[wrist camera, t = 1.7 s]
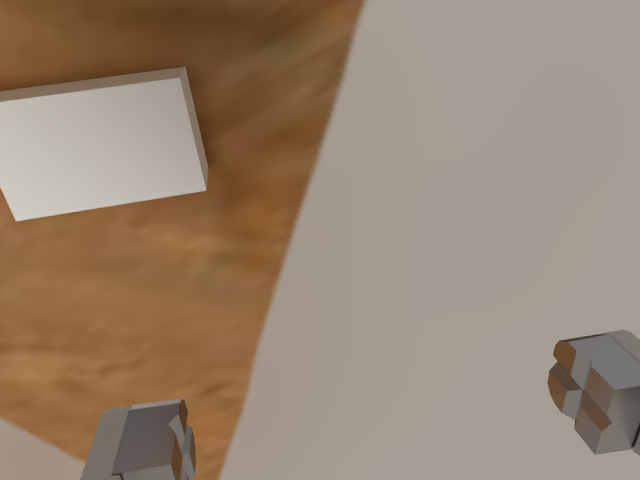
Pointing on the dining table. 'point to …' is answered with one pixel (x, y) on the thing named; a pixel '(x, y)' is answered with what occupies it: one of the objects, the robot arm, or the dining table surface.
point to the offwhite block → (99, 143)
